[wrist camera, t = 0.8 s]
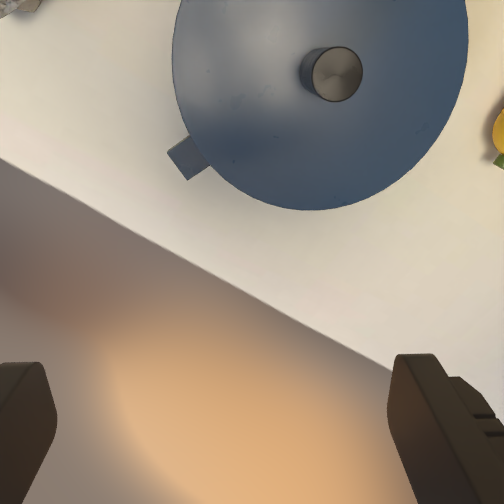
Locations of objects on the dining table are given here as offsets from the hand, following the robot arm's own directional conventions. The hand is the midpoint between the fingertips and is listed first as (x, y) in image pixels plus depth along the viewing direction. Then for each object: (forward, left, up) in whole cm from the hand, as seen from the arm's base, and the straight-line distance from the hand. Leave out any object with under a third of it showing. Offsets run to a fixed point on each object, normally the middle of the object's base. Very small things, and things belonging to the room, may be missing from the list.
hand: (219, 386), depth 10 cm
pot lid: (-4, +7, -21) cm, 23 cm away
